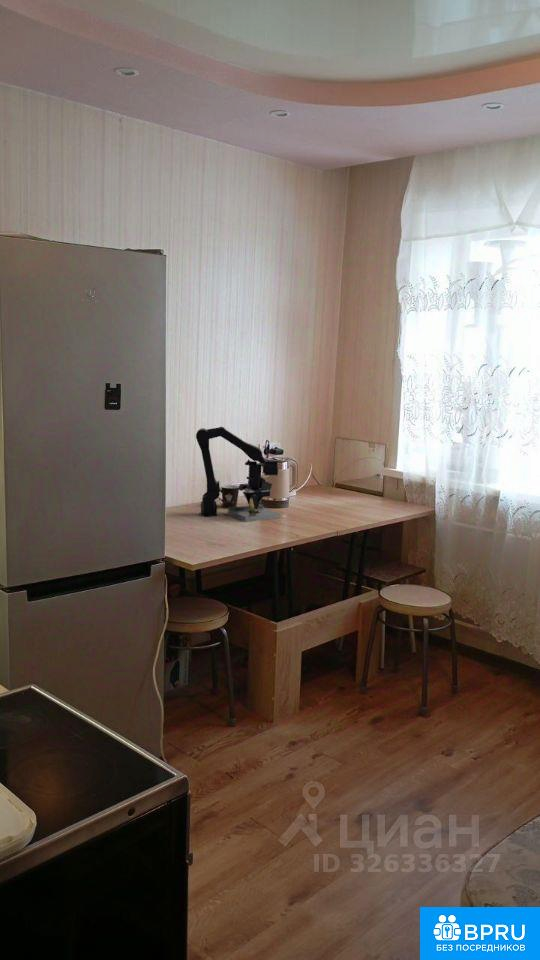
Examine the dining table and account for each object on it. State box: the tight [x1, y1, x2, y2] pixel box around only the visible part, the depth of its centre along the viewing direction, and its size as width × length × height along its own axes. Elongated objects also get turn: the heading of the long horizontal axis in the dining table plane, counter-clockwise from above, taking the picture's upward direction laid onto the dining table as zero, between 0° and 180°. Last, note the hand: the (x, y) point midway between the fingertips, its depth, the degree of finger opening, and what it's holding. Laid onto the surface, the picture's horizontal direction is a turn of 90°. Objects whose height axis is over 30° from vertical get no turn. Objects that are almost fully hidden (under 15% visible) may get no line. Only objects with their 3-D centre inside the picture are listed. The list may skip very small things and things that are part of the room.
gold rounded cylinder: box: [248, 497, 258, 513], centre depth 356 cm, size 4×4×7 cm
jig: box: [227, 504, 281, 523], centre depth 356 cm, size 18×16×3 cm
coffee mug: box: [217, 484, 240, 509], centre depth 374 cm, size 12×9×10 cm
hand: (253, 508), depth 356 cm, fingers closed on gold rounded cylinder, 4 cm apart
